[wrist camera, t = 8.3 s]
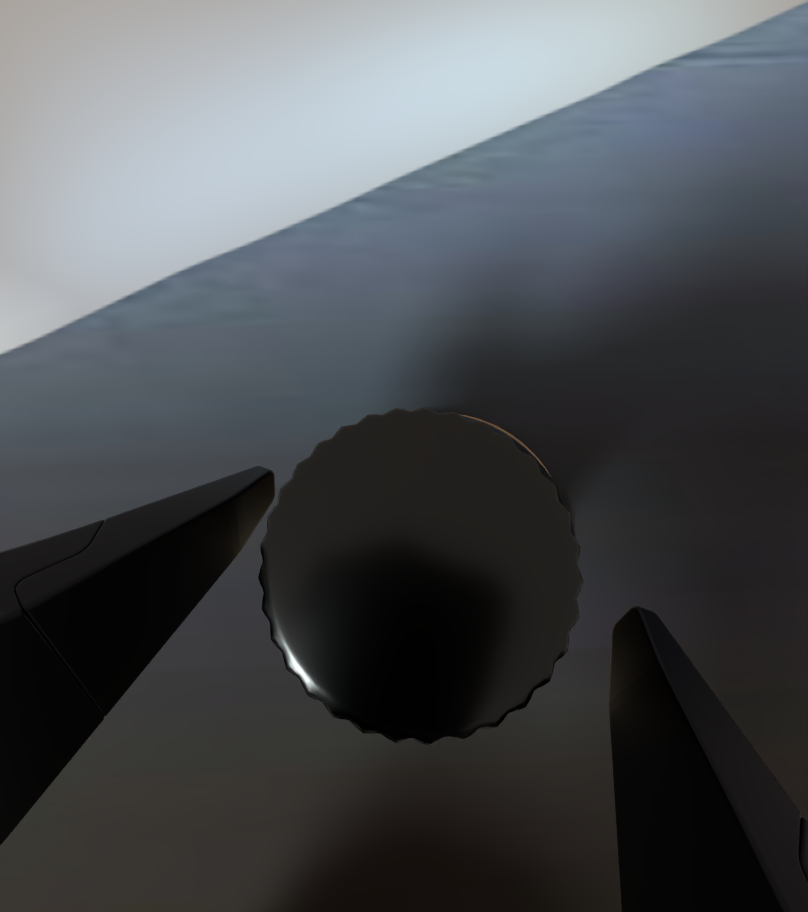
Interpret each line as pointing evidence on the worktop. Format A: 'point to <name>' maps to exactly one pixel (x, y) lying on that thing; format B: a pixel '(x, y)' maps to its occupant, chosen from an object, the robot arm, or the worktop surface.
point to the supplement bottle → (420, 575)
